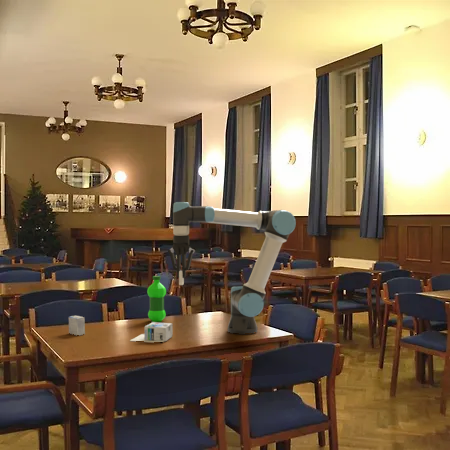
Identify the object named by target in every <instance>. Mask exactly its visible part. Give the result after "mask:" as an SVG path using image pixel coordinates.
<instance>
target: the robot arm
mask: <svg viewBox="0 0 450 450" xmlns="http://www.w3.org/2000/svg"><path fill="white" fill-rule="evenodd" d="M172 207H173V208H172V220H173V221H172V223H173V224H172V225H173V226H172V228H173V229H172V232H173V233H172V234H173V236H172V237H173V239H172V240H173V243H172V246H171V247H170V249H168V250H167V253H169V257H170V260H171V264H172V269H173V270H174V271H176V278H178V285H179V286H183V285H184V283H185V278H186V277H187V273H186V272H187V271H189V270H190V268H191V265H192V260H193V255H194V254H195V249H193V248H192V247H191V245H190V235H189V234H190V223H209V224H220V225H227V226H228V225H229V226H238V227H239V226H240V227H248V228H249V227H250V228H256V230H259V231H264V235H265V237H264V238H265V239H264V241H263V243H262V246H261V248H260V250H259V253H258V256H257V258H256V261H255V263H254V266H253V267H252V271H251V274H250V276H249V278H248V281H247V282H245V283H244V284H243V286H232V287H230V319H229V321H228V325H227V332H228V333H229V332H230V334H233V333H239V334H238V335H246V334H245V333H253V334H255V333H254V332H256V333H258V325H257V322H256V319H255V317H256V316H258V315H259V314H261V312H262V311H263V309H264V304H265V303H264V299H265V297H266V294H267V292H266V291H265V288H266V285H267V283H268V281H269V278H270V276H271V274H272V270H273V268H274V265H275V263H276V261H277V258H278V256H279V253H280V251H281V249H282V248H281V247H282V246H283V243H286V242H287V241H288V238H289V237H290V234H292V233H293V231H294V230H295V228H296V225H297V224H296V223H297V222H296V221H297V220H296V217H295V216H294V215H293V213H292V212H291V211H288V210H285V209H276V210H266V211H265V210H263V211H262V210H259V211H258V212H257V211H256V212H254V211H248V210H247V211H244V210H236V209H227V208H217V207H216V208H215V207H214V206H209V205H207V206H205V205H204V206H202V205H201V206H199V205H197V206H196V205H195V206H191V205H190V203H189V202H187V201H186V202H185V201H176V202H174V203H173V206H172ZM188 252H189V254H188V256H187V253H188ZM175 254H176V256H175ZM187 257H188V258H187Z"/></svg>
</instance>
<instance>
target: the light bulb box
mask: <svg viewBox="0 0 450 450" xmlns="http://www.w3.org/2000/svg"><path fill="white" fill-rule="evenodd" d="M143 334H144V340H155V341H164V342H167V341H168V340H169V339H171V338H172V337H173V323H171V322H152V321H151V323H149V324H147V325H146V324H145V326H144V333H143Z"/></svg>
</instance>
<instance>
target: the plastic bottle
mask: <svg viewBox="0 0 450 450" xmlns="http://www.w3.org/2000/svg"><path fill="white" fill-rule="evenodd" d="M161 279H162V278H161V275H153V276H152V280H153V282H152V283H151V285H149V286H148V287H147V291H146V293H147V295H148V297H149V310H148V312H147V316H148V318H149V320H150V321H151V323H152V322H157V323H162V321H163V320H165V318H166V315H167V314H166V313H167V312H166V310H165V296H166V294H167V289H166V287H165V286H164V284H162V283H161V282H160V281H161Z"/></svg>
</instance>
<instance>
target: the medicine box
mask: <svg viewBox="0 0 450 450" xmlns="http://www.w3.org/2000/svg"><path fill="white" fill-rule="evenodd" d="M85 322H86V321H85V316H84V317H83V316H80V315H71V316H68V334H69V333H70V334H69V335H73V334H74V335H73V336H77V335H79V336H84V335H86V331H85V330H86V329H85V327H86V325H85ZM83 334H84V335H83Z"/></svg>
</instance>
